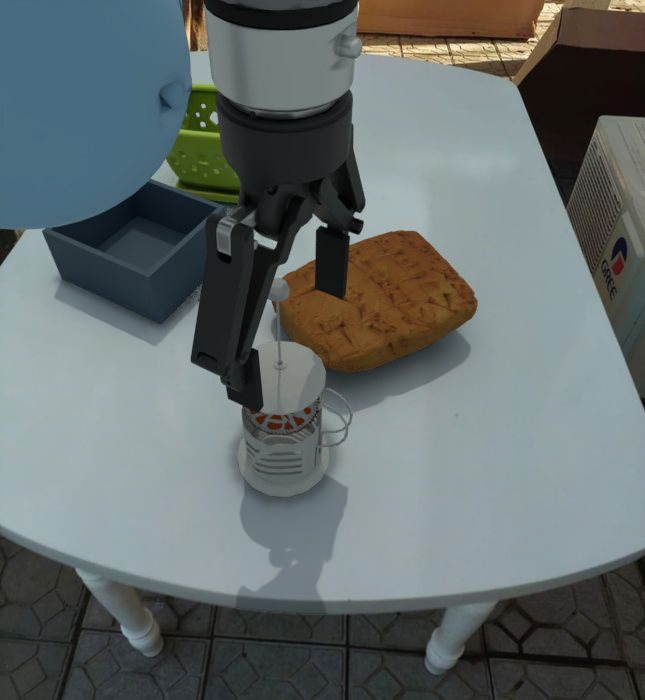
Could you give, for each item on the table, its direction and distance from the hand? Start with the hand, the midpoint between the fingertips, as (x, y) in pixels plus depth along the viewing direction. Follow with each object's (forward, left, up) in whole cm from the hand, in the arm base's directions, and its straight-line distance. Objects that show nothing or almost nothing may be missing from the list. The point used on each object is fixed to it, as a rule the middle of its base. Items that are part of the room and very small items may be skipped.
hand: (291, 342), depth 48 cm
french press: (0, 0, -19) cm, 19 cm away
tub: (-32, +16, -18) cm, 40 cm away
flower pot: (-34, +37, -19) cm, 54 cm away
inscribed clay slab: (-1, +21, -19) cm, 28 cm away
